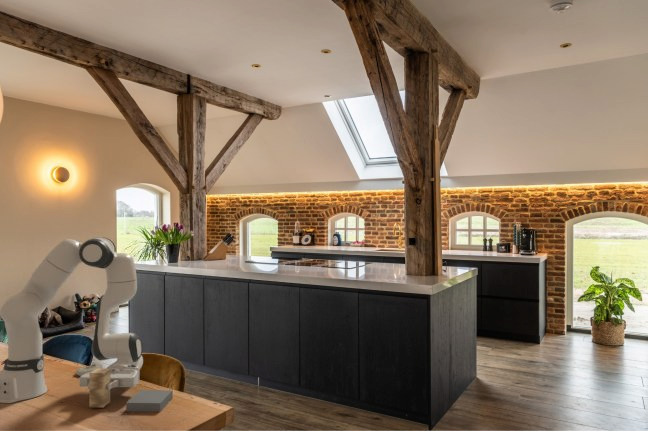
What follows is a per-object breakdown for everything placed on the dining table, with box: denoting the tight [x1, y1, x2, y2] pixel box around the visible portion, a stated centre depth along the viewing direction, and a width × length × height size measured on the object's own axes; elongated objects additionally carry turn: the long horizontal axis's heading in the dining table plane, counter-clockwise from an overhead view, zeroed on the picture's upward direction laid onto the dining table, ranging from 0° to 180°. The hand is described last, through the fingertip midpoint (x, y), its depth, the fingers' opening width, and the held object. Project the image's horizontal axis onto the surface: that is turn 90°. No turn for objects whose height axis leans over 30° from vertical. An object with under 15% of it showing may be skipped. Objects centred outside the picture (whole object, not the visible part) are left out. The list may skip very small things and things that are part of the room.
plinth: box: [125, 389, 174, 413], centre depth 168 cm, size 12×12×3 cm
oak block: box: [88, 368, 111, 408], centre depth 167 cm, size 5×5×12 cm
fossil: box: [75, 362, 104, 377], centre depth 203 cm, size 11×4×10 cm
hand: (98, 387), depth 166 cm, fingers closed on oak block, 5 cm apart
